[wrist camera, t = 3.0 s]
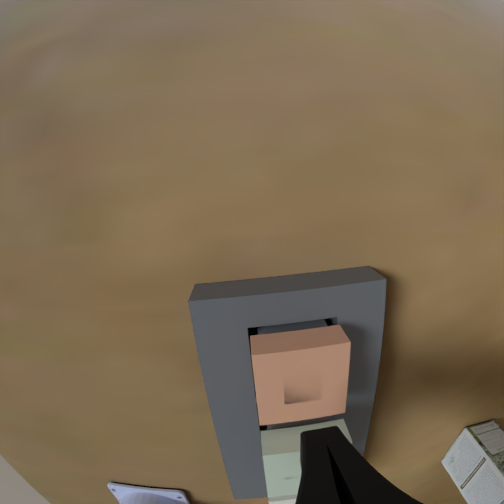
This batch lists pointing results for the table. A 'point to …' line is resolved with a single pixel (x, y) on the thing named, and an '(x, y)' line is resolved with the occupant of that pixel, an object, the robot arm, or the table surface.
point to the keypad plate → (275, 313)
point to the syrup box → (478, 463)
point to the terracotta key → (300, 371)
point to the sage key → (289, 452)
